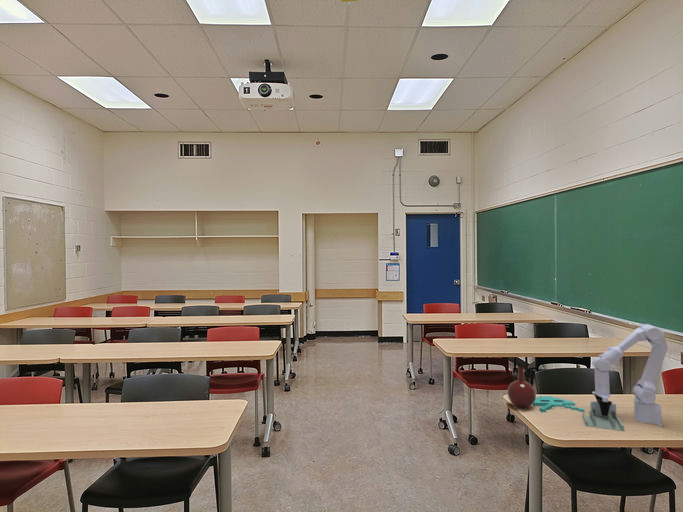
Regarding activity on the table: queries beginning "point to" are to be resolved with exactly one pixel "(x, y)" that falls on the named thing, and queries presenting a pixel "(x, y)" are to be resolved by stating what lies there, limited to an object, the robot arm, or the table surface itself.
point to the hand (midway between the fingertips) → (603, 412)
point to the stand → (604, 416)
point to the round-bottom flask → (521, 391)
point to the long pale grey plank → (598, 411)
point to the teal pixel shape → (554, 403)
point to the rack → (603, 422)
